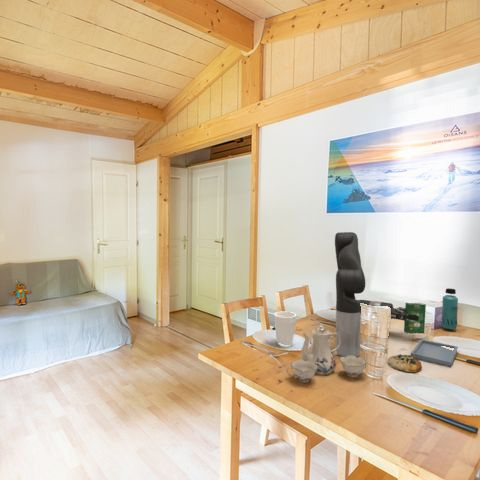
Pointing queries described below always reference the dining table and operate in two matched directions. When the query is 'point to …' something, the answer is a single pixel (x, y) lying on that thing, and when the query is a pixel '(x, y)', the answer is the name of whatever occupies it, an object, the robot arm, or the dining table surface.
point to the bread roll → (405, 363)
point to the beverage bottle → (449, 310)
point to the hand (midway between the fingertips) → (420, 316)
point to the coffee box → (412, 325)
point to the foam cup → (285, 327)
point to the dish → (434, 353)
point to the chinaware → (323, 358)
